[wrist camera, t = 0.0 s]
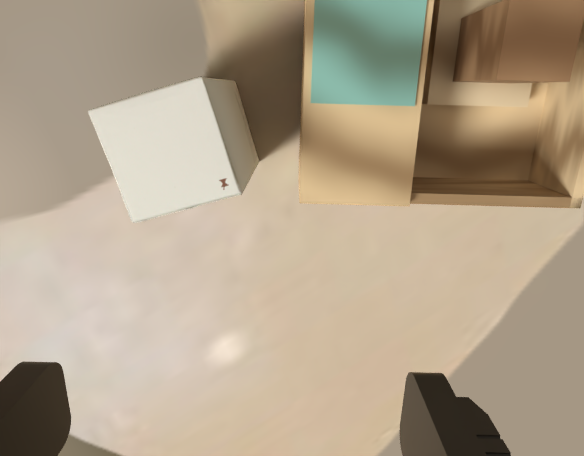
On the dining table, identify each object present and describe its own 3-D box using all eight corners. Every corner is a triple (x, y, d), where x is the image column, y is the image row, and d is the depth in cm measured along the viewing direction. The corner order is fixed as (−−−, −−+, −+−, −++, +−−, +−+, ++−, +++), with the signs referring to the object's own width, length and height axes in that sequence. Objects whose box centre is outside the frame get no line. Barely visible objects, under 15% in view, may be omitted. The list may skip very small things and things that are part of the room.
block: (461, 18, 31) (510, -3, 24) (521, 19, 31) (587, -1, 24) (452, 81, 33) (496, 79, 26) (509, 83, 33) (569, 81, 26)
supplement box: (236, 78, 35) (206, 72, 23) (260, 163, 37) (245, 198, 25) (153, 101, 36) (83, 107, 24) (182, 183, 38) (131, 227, 26)
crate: (308, -113, 31) (312, -178, 23) (591, -104, 31) (688, -166, 23) (298, 180, 38) (299, 203, 30) (530, 187, 38) (589, 212, 30)
